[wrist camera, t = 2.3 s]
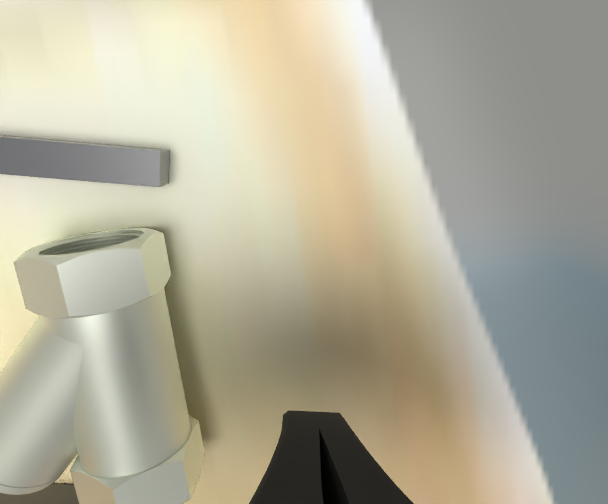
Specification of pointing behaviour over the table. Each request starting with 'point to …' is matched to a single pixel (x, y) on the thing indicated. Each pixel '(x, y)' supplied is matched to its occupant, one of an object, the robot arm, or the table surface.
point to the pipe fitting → (98, 376)
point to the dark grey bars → (85, 167)
